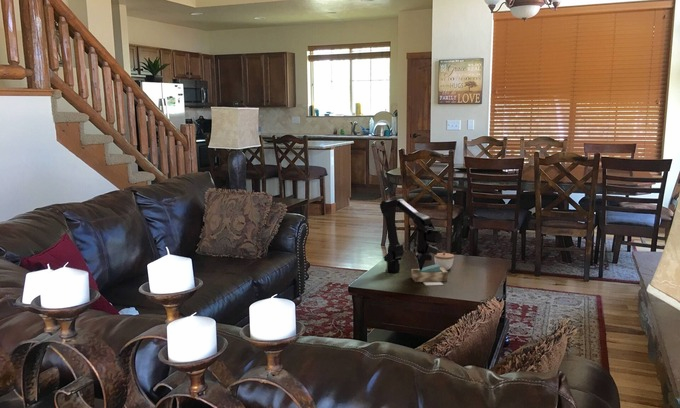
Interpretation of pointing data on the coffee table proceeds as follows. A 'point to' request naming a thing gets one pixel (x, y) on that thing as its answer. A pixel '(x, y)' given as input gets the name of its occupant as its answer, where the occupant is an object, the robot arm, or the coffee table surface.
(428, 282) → the mat
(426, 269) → the light blue rectangular block
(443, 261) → the lidded jar
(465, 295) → the coffee table surface
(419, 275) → the wooden tray
